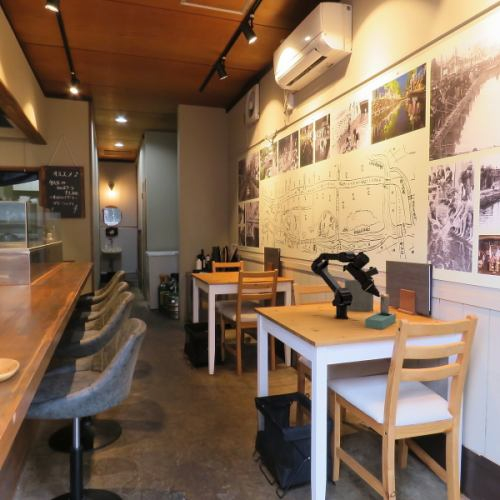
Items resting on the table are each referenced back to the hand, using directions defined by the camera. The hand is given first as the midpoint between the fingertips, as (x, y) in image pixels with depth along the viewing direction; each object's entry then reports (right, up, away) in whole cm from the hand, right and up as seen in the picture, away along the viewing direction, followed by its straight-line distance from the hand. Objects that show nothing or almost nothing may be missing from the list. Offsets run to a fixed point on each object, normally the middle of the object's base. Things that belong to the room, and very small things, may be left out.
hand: (379, 295), depth 204 cm
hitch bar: (-1, -14, -4) cm, 14 cm away
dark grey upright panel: (-2, -12, +30) cm, 33 cm away
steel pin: (+2, -14, 0) cm, 14 cm away
